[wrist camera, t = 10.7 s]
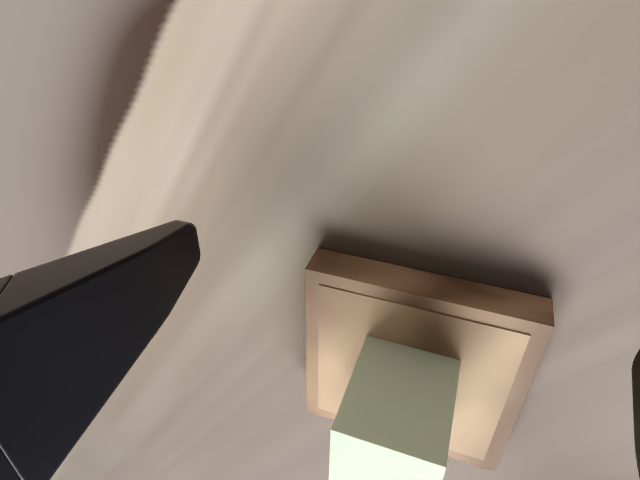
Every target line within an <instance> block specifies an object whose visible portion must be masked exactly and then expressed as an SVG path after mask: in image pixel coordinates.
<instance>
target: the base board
mask: <svg viewBox="0 0 640 480" xmlns="http://www.w3.org/2000/svg"><path fill="white" fill-rule="evenodd" d="M305 317H306V409H307V411H308V412H311V413H314V414H317V415H320V416H323V417H327V418H330V419H333V420H335V417H336V415H337V412H338V409H339V407H340V404H341V401H342V399H343V396H344V393H345V391H346V388H347V386H348V383H349V380H350V378H351V375H352V372H353V370H354V367H355V364H356V362H357V359H358V356H359V354H360V351H361V348H362V346H363V343H364V340H365V338H366V336H370V337H374V338H378V339H381V340H385V341H389V342H393V343H397V344H400V345H404V346H408V347H412V348H415V349H419V350H423V351H427V352H431V353H434V354H438V355H442V356H446V357H450V358H453V359H457V360H461V365H460V372H459V380H458V387H457V394H456V401H455V408H454V415H453V422H452V429H451V437H450V444H449V451H448V457H451V458H454V459H457V460H460V461H463V462H467V463H470V464H473V465H476V466H479V467H482V468H485V469H488V470H491V471H495V470H496V467H497V465H498V463H499V460H500V458H501V455H502V453H503V450H504V448H505V446H506V443H507V441H508V438H509V436H510V433H511V431H512V429H513V426H514V424H515V421H516V419H517V416H518V414H519V412H520V409H521V407H522V404H523V402H524V399H525V397H526V395H527V392H528V390H529V387H530V385H531V383H532V380H533V378H534V375H535V373H536V370H537V368H538V366H539V363H540V361H541V358H542V356H543V353H544V351H545V349H546V346H547V344H548V341H549V339H550V336H551V334H552V332H553V329H554V315H553V302H552V299H551V298H546V297H542V296H537V295H532V294H528V293H523V292H519V291H514V290H509V289H505V288H500V287H496V286H491V285H486V284H482V283H477V282H473V281H468V280H463V279H459V278H454V277H450V276H445V275H440V274H436V273H431V272H427V271H422V270H417V269H413V268H408V267H404V266H399V265H394V264H390V263H385V262H381V261H376V260H371V259H367V258H362V257H358V256H353V255H348V254H344V253H339V252H335V251H330V250H325V249H321V248H318V249H317V251H316V252H315V254H314V255H313V257H312V259H311V260H310V262H309V263H308V265H307V267H306V268H305Z"/></svg>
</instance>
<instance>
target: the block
mask: <svg viewBox="0 0 640 480" xmlns="http://www.w3.org/2000/svg"><path fill="white" fill-rule="evenodd" d="M460 365H461V360H457V359H453V358H450V357H446V356H442V355H438V354H434V353H431V352H427V351H423V350H419V349H415V348H412V347H408V346H404V345H400V344H397V343H393V342H389V341H385V340H381V339H378V338H374V337H370V336H366V338H365V340H364V343H363V346H362V348H361V351H360V354H359V356H358V359H357V362H356V364H355V367H354V370H353V372H352V375H351V378H350V380H349V383H348V386H347V388H346V391H345V393H344V396H343V399H342V401H341V404H340V407H339V409H338V412H337V415H336V417H335V420H334V423H333V425H332V428H331V437H330V463H329V480H443V476H444V473H445V470H446V465H447V458H448V451H449V444H450V437H451V429H452V422H453V415H454V408H455V401H456V394H457V387H458V380H459V372H460Z"/></svg>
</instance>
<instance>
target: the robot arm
mask: <svg viewBox="0 0 640 480" xmlns="http://www.w3.org/2000/svg"><path fill="white" fill-rule="evenodd" d="M199 260H200V248H199V242H198V236H197V230H196V227H195V226H194V224H192V223H189V222H184V221H180V220H175V221H172V222H169V223H166V224H163V225H160V226H157V227H154V228H151V229H148V230H145V231H142V232H139V233H136V234H133V235H130V236H126V237H123V238H120V239H117V240H114V241H111V242H108V243H105V244H102V245H99V246H96V247H93V248H90V249H87V250H84V251H81V252H78V253H75V254H72V255H69V256H66V257H63V258H60V259H57V260H54V261H51V262H48V263H45V264H42V265H39V266H36V267H33V268H30V269H27V270H24V271H21V272H18V273H15V274H14V275H8V276H5V277H2V278H0V480H50V479H51V477H52V476H53V475H54V473H55V472H56V471H57V469H58V468H59V466H60V465H61V464H62V462H63V461H64V460H65V458H66V457H67V455H68V454H69V453H70V451H71V450H72V448H73V447H74V446H75V444H76V443H77V442H78V440H79V439H80V437H81V436H82V435H83V433H84V432H85V431H86V429H87V428H88V426H89V425H90V424H91V422H92V421H93V420H94V418H95V417H96V415H97V414H98V413H99V411H100V410H101V408H102V407H103V406H104V404H105V403H106V402H107V400H108V399H109V397H110V396H111V395H112V393H113V392H114V391H115V389H116V388H117V386H118V385H119V384H120V382H121V381H122V379H123V378H124V377H125V375H126V374H127V373H128V371H129V370H130V368H131V367H132V366H133V364H134V363H135V362H136V360H137V359H138V357H139V356H140V355H141V353H142V352H143V350H144V349H145V348H146V346H147V345H148V344H149V342H150V341H151V339H152V338H153V337H154V335H155V334H156V333H157V331H158V330H159V328H160V327H161V326H162V324H163V323H164V321H165V320H166V318H167V317H168V315H169V314H170V312H171V310H172V309H173V307H174V305H175V304H176V302H177V300H178V298H179V297H180V295H181V293H182V291H183V290H184V288H185V286H186V284H187V283H188V281H189V279H190V277H191V276H192V274H193V272H194V270H195V269H196V267H197V265H198V263H199ZM632 390H633V415H634V439H635V452H636V459H637V466H638V472H639V478H640V349H639V351H638V353H637V355H636V356H635V358H634V361H633V365H632Z"/></svg>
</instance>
